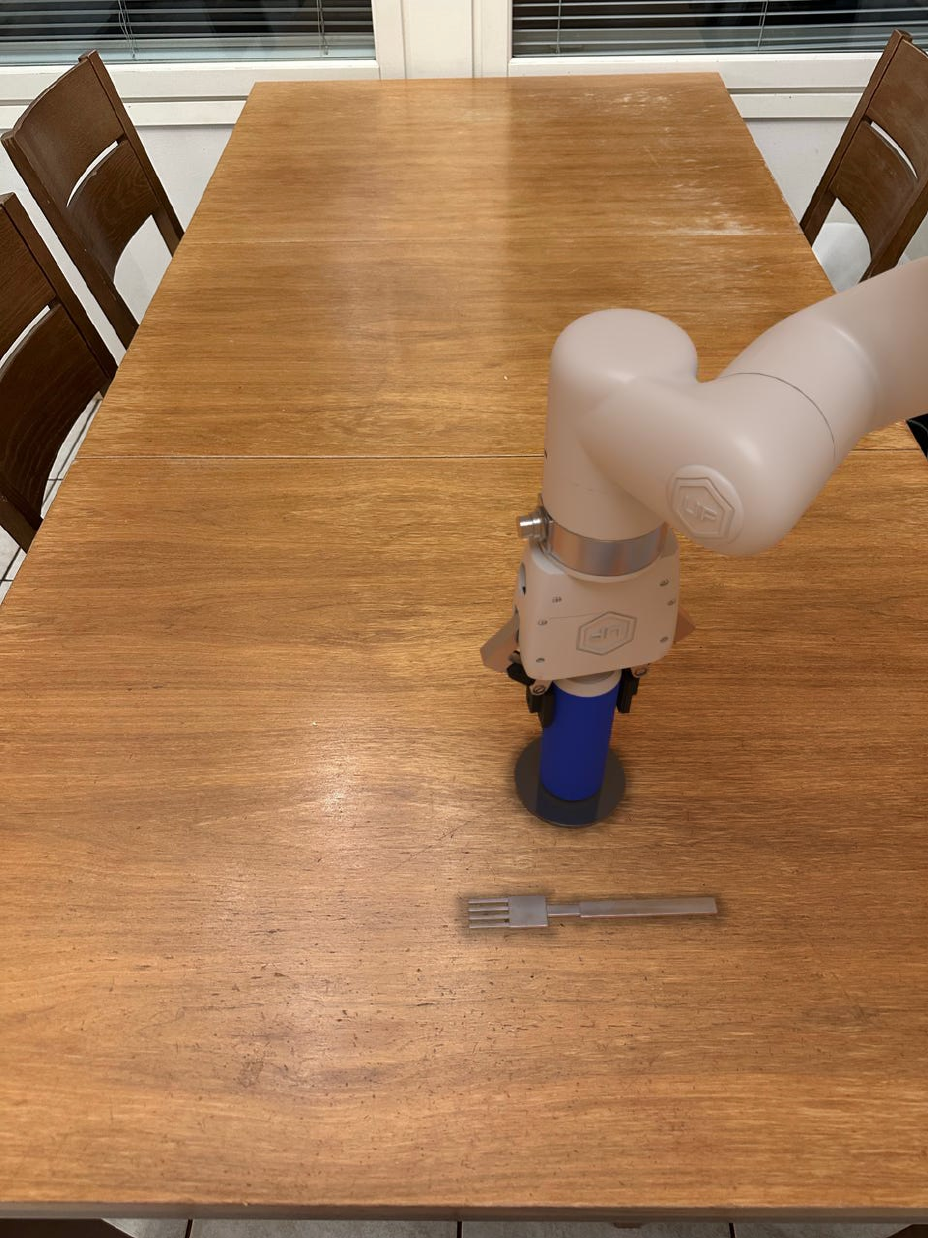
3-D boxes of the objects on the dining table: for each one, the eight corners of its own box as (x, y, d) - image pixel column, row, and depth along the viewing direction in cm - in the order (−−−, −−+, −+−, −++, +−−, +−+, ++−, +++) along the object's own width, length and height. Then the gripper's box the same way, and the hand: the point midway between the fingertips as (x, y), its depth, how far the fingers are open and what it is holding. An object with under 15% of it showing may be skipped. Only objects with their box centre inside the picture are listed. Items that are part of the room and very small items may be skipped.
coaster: (641, 759, 78) (642, 757, 78) (598, 847, 73) (599, 844, 72) (542, 718, 81) (543, 715, 81) (494, 799, 76) (494, 796, 75)
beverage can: (611, 763, 77) (633, 644, 66) (589, 814, 74) (608, 698, 63) (553, 741, 79) (564, 621, 68) (529, 790, 76) (536, 673, 65)
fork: (711, 891, 70) (712, 889, 70) (718, 922, 69) (719, 920, 68) (468, 899, 70) (468, 897, 70) (469, 930, 68) (469, 928, 68)
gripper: (475, 588, 52) (476, 768, 66) (765, 542, 54) (709, 726, 68) (449, 500, 57) (455, 685, 71) (716, 461, 59) (673, 648, 73)
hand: (580, 703), depth 69 cm, fingers closed on beverage can, 5 cm apart
